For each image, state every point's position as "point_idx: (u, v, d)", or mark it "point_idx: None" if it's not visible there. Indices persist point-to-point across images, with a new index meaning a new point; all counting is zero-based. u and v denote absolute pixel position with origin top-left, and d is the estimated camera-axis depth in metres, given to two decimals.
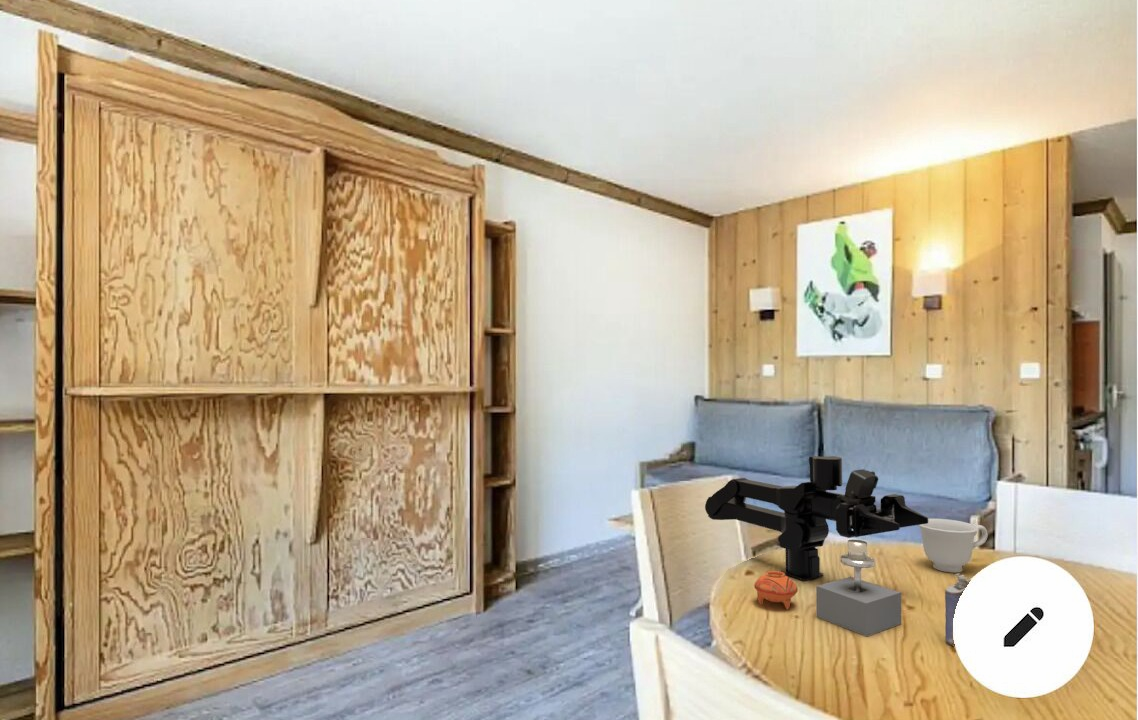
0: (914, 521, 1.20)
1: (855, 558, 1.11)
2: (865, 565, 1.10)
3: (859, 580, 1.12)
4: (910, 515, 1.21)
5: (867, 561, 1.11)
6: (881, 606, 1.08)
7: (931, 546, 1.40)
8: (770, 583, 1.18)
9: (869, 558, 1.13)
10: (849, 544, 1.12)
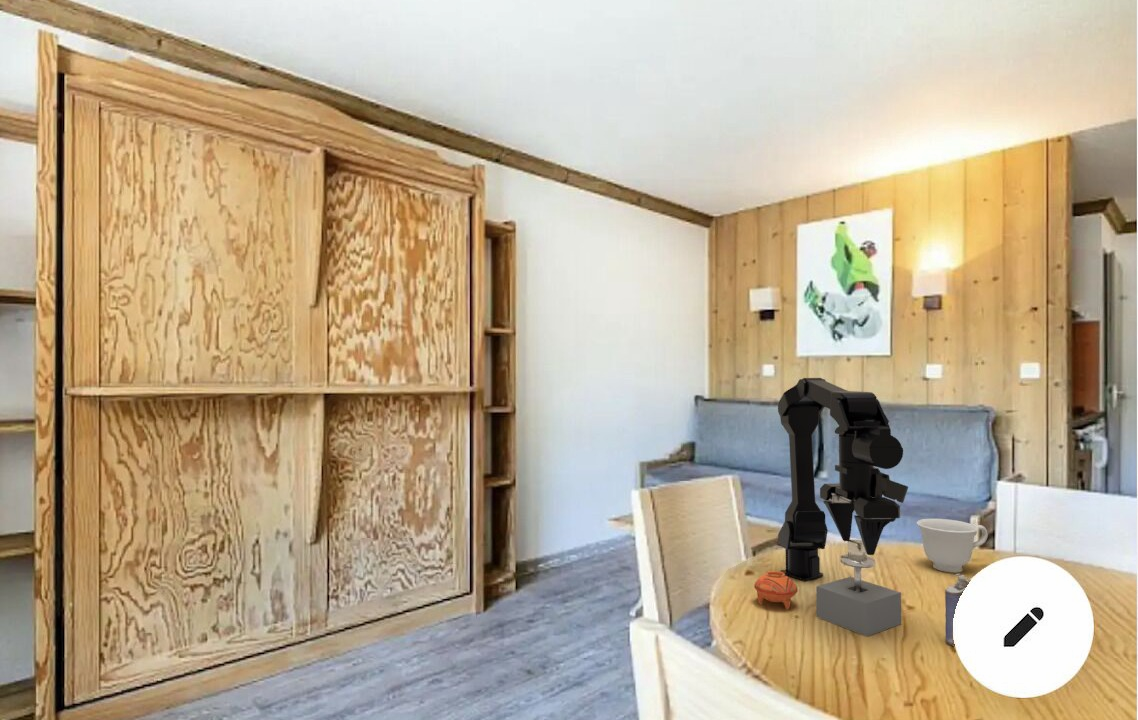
0: (842, 527, 1.17)
1: (855, 558, 1.11)
2: (865, 565, 1.10)
3: (859, 580, 1.12)
4: (847, 522, 1.17)
5: (867, 561, 1.11)
6: (881, 606, 1.08)
7: (931, 546, 1.40)
8: (770, 583, 1.18)
9: (869, 558, 1.13)
10: (849, 544, 1.12)
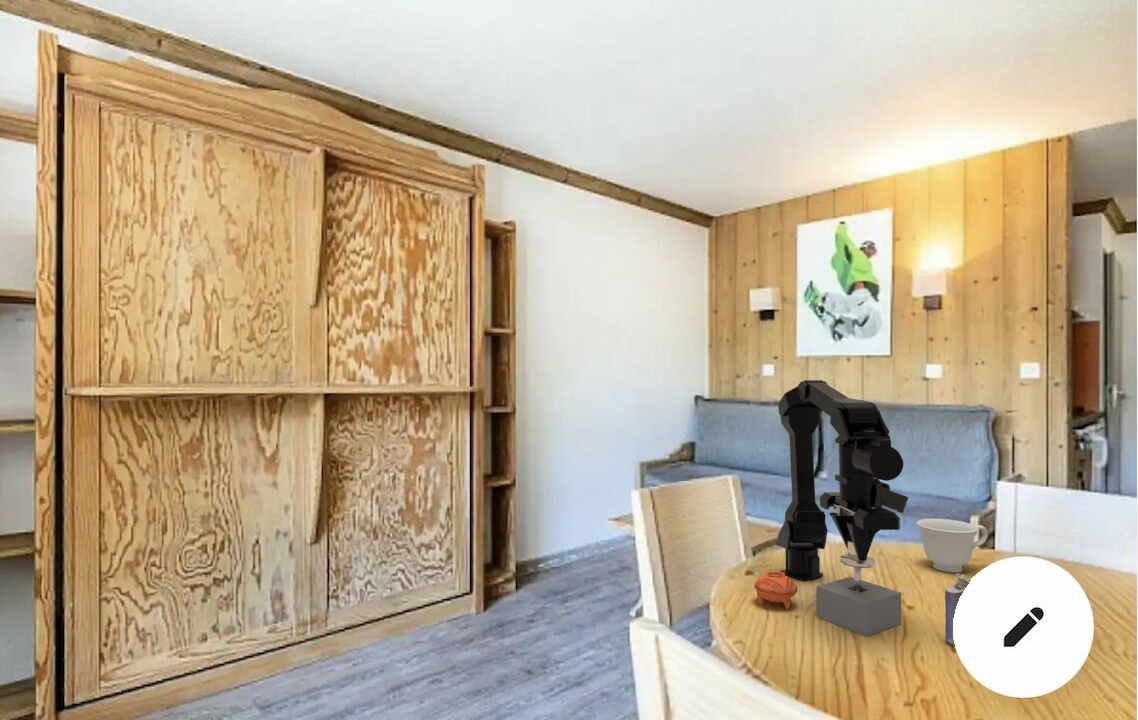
0: None
1: (855, 558, 1.11)
2: (865, 565, 1.10)
3: (859, 580, 1.12)
4: None
5: (867, 561, 1.11)
6: (881, 606, 1.08)
7: (931, 546, 1.40)
8: (770, 583, 1.18)
9: (869, 558, 1.13)
10: (849, 544, 1.12)
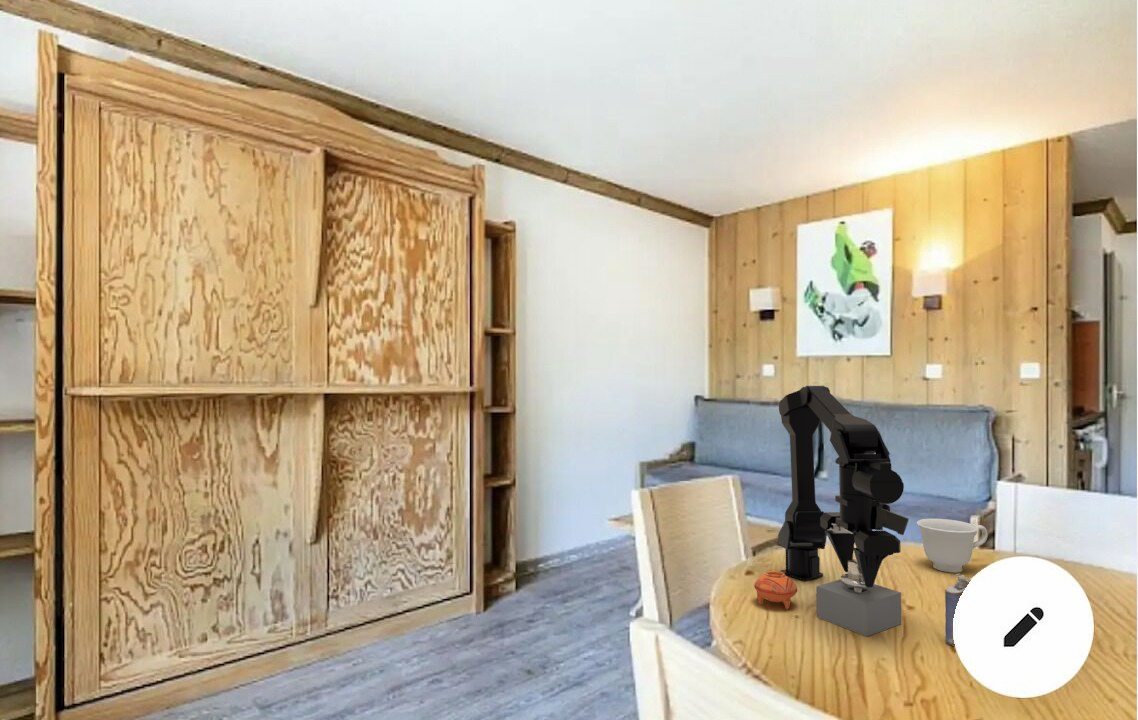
0: (844, 558, 1.16)
1: (855, 578, 1.11)
2: None
3: None
4: (848, 553, 1.17)
5: None
6: (881, 606, 1.08)
7: (931, 546, 1.40)
8: (770, 582, 1.18)
9: None
10: (849, 564, 1.12)
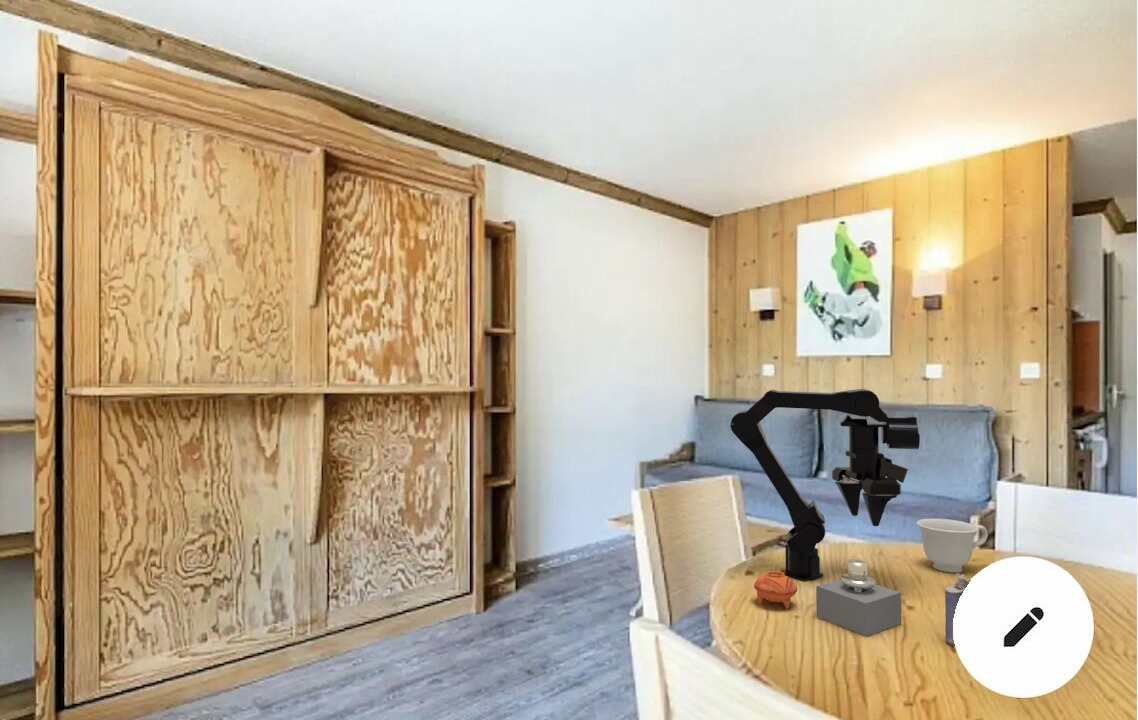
0: (851, 504, 1.38)
1: (855, 578, 1.11)
2: (866, 586, 1.10)
3: None
4: (855, 500, 1.38)
5: (867, 581, 1.11)
6: (881, 606, 1.08)
7: (931, 546, 1.40)
8: (770, 582, 1.18)
9: (869, 578, 1.13)
10: (849, 564, 1.12)
